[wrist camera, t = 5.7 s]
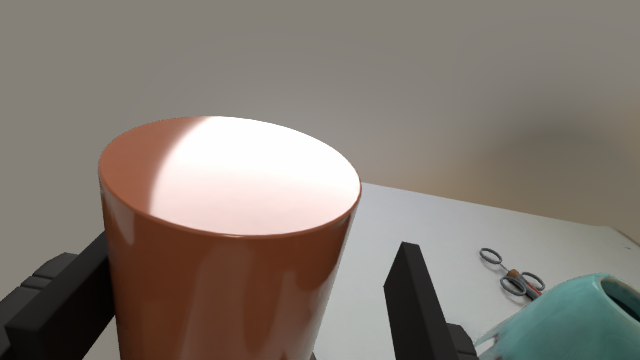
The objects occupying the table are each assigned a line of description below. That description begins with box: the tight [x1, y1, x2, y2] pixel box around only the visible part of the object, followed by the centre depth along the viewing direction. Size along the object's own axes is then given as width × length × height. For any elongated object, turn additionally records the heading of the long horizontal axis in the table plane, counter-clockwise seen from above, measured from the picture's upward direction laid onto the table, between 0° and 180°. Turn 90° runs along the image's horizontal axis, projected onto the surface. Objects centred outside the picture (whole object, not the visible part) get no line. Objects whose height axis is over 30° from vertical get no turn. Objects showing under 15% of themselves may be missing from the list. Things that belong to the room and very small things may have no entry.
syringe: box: [480, 248, 545, 300], centre depth 46 cm, size 8×18×2 cm, turn 23°
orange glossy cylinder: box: [98, 116, 362, 360], centre depth 12 cm, size 7×7×11 cm
